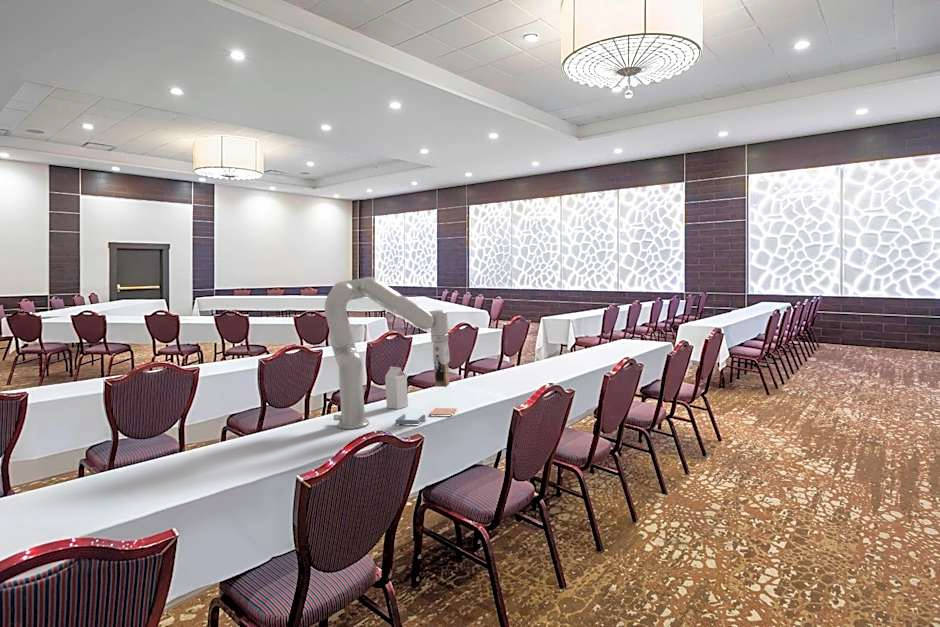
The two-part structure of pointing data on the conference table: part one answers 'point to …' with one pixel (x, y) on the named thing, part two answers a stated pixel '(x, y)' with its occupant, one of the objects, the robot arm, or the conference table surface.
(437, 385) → the walnut block
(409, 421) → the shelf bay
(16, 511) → the conference table surface
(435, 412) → the terracotta tile
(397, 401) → the milk carton
